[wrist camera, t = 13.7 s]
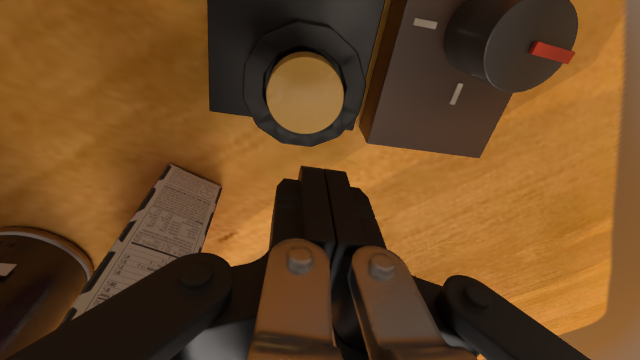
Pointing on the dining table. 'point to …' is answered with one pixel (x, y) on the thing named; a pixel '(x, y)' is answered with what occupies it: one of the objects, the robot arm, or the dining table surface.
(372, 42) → the lamp base
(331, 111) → the button
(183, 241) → the candy bar box
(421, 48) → the dimmer panel
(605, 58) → the dining table surface
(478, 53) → the dimmer knob
